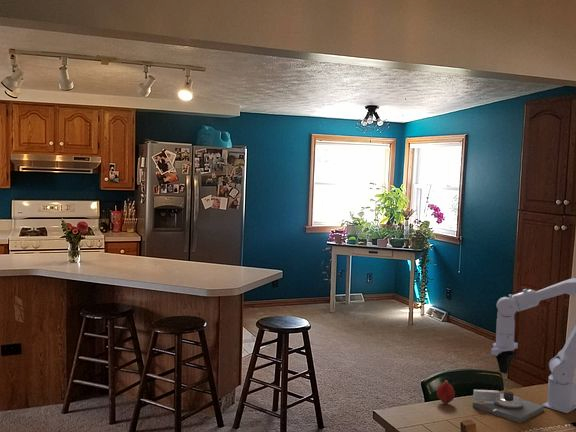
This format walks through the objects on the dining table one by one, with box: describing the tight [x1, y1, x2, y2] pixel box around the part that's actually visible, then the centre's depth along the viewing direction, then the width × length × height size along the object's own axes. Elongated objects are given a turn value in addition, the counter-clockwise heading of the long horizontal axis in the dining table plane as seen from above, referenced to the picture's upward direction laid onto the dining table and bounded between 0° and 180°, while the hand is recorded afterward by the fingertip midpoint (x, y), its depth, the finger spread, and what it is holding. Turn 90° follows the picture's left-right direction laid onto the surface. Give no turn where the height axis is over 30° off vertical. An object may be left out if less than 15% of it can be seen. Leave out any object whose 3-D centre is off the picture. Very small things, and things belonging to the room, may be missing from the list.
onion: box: [436, 379, 456, 405], centre depth 180 cm, size 6×6×8 cm
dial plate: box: [472, 392, 545, 424], centre depth 177 cm, size 16×18×2 cm
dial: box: [472, 389, 524, 409], centre depth 177 cm, size 16×9×4 cm, turn 86°
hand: (503, 372), depth 184 cm, fingers closed
